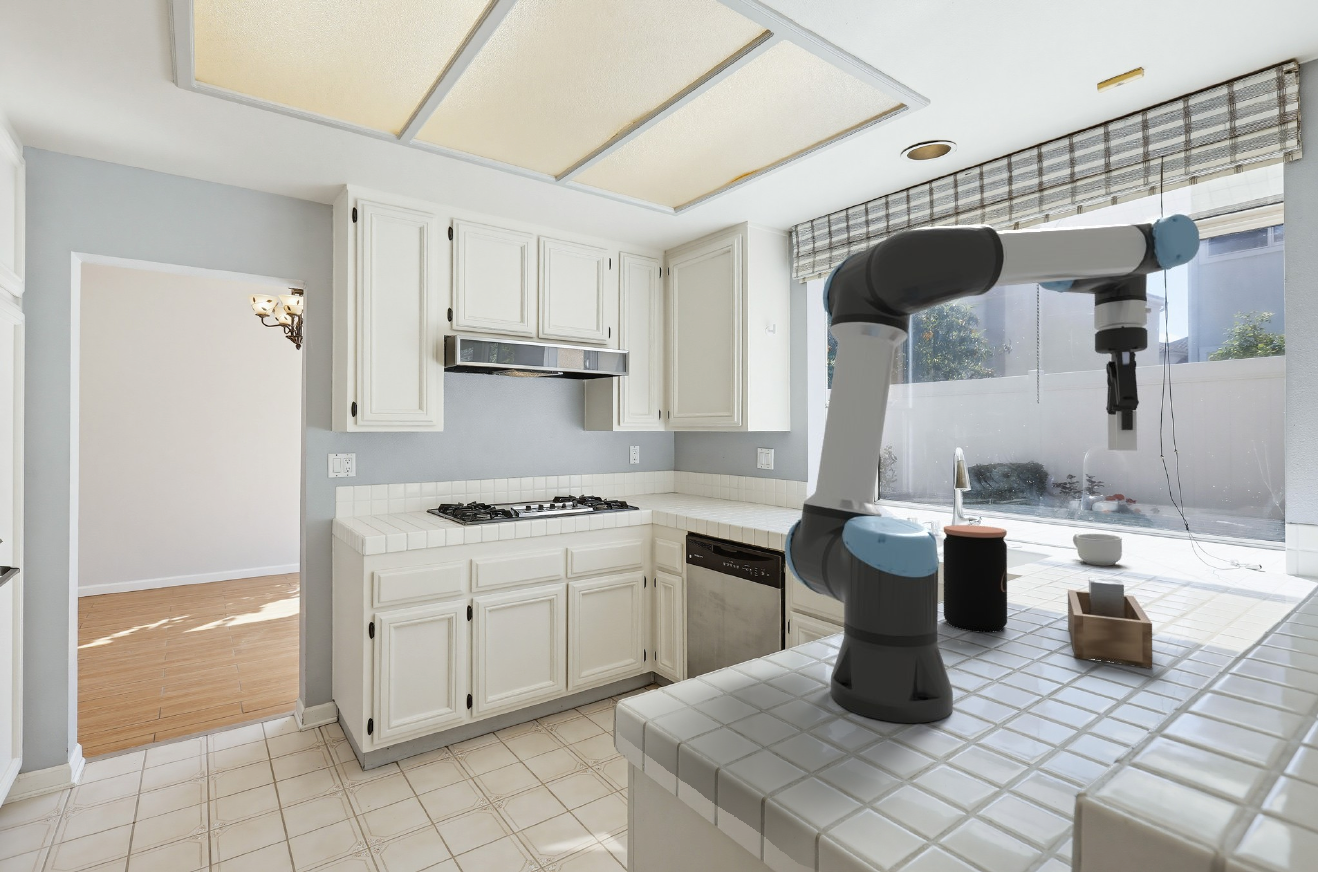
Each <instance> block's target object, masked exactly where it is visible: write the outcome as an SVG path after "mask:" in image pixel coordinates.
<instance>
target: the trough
mask: <svg viewBox="0 0 1318 872" xmlns="http://www.w3.org/2000/svg"><path fill="white" fill-rule="evenodd" d="M1067 627H1068V628H1067V629H1068V632H1069V634H1068V635H1069V637H1070V643H1071V647H1072V652H1073V653H1074V654H1073V657H1074V659H1078V658H1082V659H1081V660H1085V659H1095V660H1101V661H1110V662H1114V663H1121V664H1125V665H1124V666H1128V665H1134V666H1133V667H1135V666H1140V667H1139V668H1142V667H1148V668H1147V669H1150V668H1152V669H1153V622H1152V621H1151V620H1150V618H1149V617H1148V615H1147V614H1146V612H1145V611H1144V609H1143V608H1142V606H1141V605H1140V603H1139V602H1138V601H1137V600H1136V597H1135V596H1134V595H1129V594H1127V595H1126V594H1124V619H1123V618H1114V617H1105V616H1095V615H1089V591H1085V590H1077V589H1076V590H1074V589H1067ZM1114 663H1113V664H1114ZM1121 664H1120V665H1121Z"/></svg>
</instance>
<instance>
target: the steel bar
mask: <svg viewBox="0 0 1318 872" xmlns="http://www.w3.org/2000/svg"><path fill="white" fill-rule="evenodd" d="M1088 592H1089V615H1095V616H1105V617H1114V618H1123V619H1124V595H1125V585H1124V583H1123V581H1122V580H1121V579H1113V578H1103V577H1102V578H1101V577H1091V576H1090V577H1088Z"/></svg>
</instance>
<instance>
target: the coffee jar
mask: <svg viewBox="0 0 1318 872" xmlns="http://www.w3.org/2000/svg"><path fill="white" fill-rule="evenodd" d="M1007 532H1008V531H1007V530H1006V529H1004V528H999V527H994V526H985V525H984V526H983V525H971V524H969V525H966V524H963V525H962V524H960V525H959V524H957V525H956V524H955V525H954V524H953V525H945V526H943V533H944V534H945V538H944V539H943V540H942V541H943V548H942V549H943V550H942V551H943V552H942V553H943V617H944V619H945V621H946V623H947V624H948V623H949V624H950V625H949V624H948V625H949V626H951V625H952V626H951V627H953V626H954V628H955V627H958V628H961V629H960V630H962V629H966V630H965V631H967V630H970V631H969V632H973V631H979V632H978V633H996V632H995V631H998V632H1001V631H1003V629H1004V628H1005V626H1006V625H1007V624H1008V543H1006V541H1005V537H1006V536H1007ZM958 628H957V629H958ZM1000 630H1001V631H1000ZM993 631H994V632H993Z"/></svg>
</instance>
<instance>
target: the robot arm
mask: <svg viewBox="0 0 1318 872" xmlns="http://www.w3.org/2000/svg"><path fill="white" fill-rule="evenodd" d="M1198 228H1199V227H1198V226H1197V224H1196V223H1195V221H1194V220H1193V219H1192V218H1191V217H1189V216H1187V215H1185V214H1181V213H1177V214H1176V213H1175V214H1171V215H1167V216H1161V217H1160V216H1159V217H1158V218H1156V219H1155V220H1154V219H1153V220H1152V221H1148V222H1142V223H1141V222H1140V223H1130V224H1129V223H1128V224H1114V225H1112V224H1109V225H1093V226H1077V227H1076V226H1075V227H1073V226H1071V227H1058V228H1057V227H1056V228H1038V229H1022V230H1021V229H1018V230H1017V229H1015V230H1002V231H1001V230H1000V231H997V229H995V228H994V227H992V226H990V225H987V224H972V225H971V224H969V225H968V224H967V225H952V226H951V225H948V226H932V227H930V226H929V227H920V228H919V227H918V228H915V229H908V230H904V231H900V232H897V233H895V234H893V235H891V236H889V237H887V238H885V239H883V240H881V241H880V242H878V243H876V244H874V245H872V246H870V247H868V248H866V249H865V250H864V249H863V250H862V251H858V252H856V253H854V254H851V255H849V256H848V257H846V259H844V260H843V261H842V262H841V263H839V264H838V265H837V266H836V267H834V268H833V270H831V272H830V274H829V275H828V276H827V279H826V280H825V283H824V285H823V286H824V287H823V293H822V303H823V308H824V312H827V315H828V319H829V320H830V327H829V332H830V334H831V335H832V336H833V338H834V340H836V342H837V347H836V354H835V360H834V361H835V362H834V368H833V373H832V374H833V375H832V381H831V387H830V394H829V400H828V406H827V407H828V408H827V413H826V414H827V415H826V420H825V421H826V422H825V427H824V433H823V434H824V435H823V440H822V446H821V453H820V461H819V466H818V467H819V468H818V473H817V479H816V488H815V491H814V493H813V494H812V495H810V496H809V497H808V498H807V499H805V500H803V504H802V505H803V506H802V512H801V517H800V518H799V519H798V520H797V521H796V522H795V523H794V524H793V525H792V526H791V527H790V528H789V530H788V532H787V535H786V538H785V542H784V555H785V561H786V564H787V566H788V569H789V570H790V572H791V574H792V575H793V576H794V578H795V579H796V580H797V581H799V582H800V583H801V584H802V585H804V586H806V588H808V589H809V590H811V591H813V592H815V593H816V594H819V595H825V596H827V597H829V598H832V599H834V600H836V601H838V602H840V603H842V604H843V610H844V611H843V622H844V623H843V625H844V626H843V629H844V631H843V632H844V633H843V638H842V642H841V644H840V649H839V650H838V654H837V657H836V660H835V663H834V666H833V668H832V671H831V677H830V695H831V698H832V699H833V700H834V702H836V703H837V704H838V705H840V706H841V707H842V708H844V709H846V710H848V711H850V712H853V713H855V714H858V715H860V716H864V717H867V718H872V719H874V720H875V719H876V720H881V721H886V722H893V723H906V724H907V723H908V724H914V723H915V724H918V723H919V724H920V723H930V722H935V721H939V720H942V719H944V718H946V717H949V716H950V715H951V714H952V712H953V711H954V703H953V702H954V699H953V698H954V697H953V696H954V694H953V688H952V685H951V681H950V679H949V676H948V672H947V670H946V665H945V664H944V660H943V658H942V655H941V654H942V653H941V651H940V648H939V641H938V637H939V635H938V632H939V631H938V625H939V623H938V619H939V618H938V616H939V615H938V614H939V610H938V609H939V564H940V559H939V555H938V544H937V540H936V536H935V534H934V533H933V532H932V531H931V530H930V529H929V528H927V527H926V526H925V525H921V524H919V523H917V522H914V521H910V520H906V519H897V518H893V517H889V516H882V512H881V511H880V510H879V509H878V508H877V506H876V504H875V502H874V498H875V490H876V489H875V488H876V484H877V483H876V482H877V481H876V480H877V475H878V469H879V463H880V462H879V461H880V455H881V453H880V452H881V448H882V447H881V446H882V440H883V433H884V428H885V427H884V425H885V421H886V420H885V419H886V413H887V406H888V400H889V393H890V385H891V384H890V383H891V377H892V373H893V372H892V370H893V364H894V357H895V351H896V348H897V347H898V346H900V344H903V343H904V342H905V341H906V340H907V339H908V334H909V327H910V319H911V315H914V314H917V313H921V312H923V311H926V310H928V309H931V308H933V307H936V306H939V305H942V304H946V303H948V302H951V301H954V300H958V299H963V298H965V297H973V296H974V297H975V296H982V295H985V294H987V293H989V292H991V291H992V290H994V288H996V287H1004V286H1005V287H1006V286H1016V285H1017V286H1018V285H1028V284H1029V285H1030V284H1038V285H1039V286H1040V287H1041V288H1043V289H1045V290H1047V291H1052V292H1053V291H1054V292H1058V293H1060V294H1062V293H1074V294H1089V295H1094V316H1093V317H1094V318H1093V319H1094V320H1093V321H1094V322H1093V323H1094V324H1093V326H1094V330H1097V332H1095V333H1094V351H1095V353H1097V354H1102V355H1103V354H1104V355H1106V354H1110V355H1111V357H1110V358H1111V359H1110V360H1108V362H1107V363H1105V366H1106V367H1105V370H1106V374H1107V375H1106V376H1107V377H1106V378H1107V379H1106V383H1107V395H1106V396H1107V400H1106V408H1105V409H1106V412H1107V451H1137V450H1138V444H1137V443H1138V437H1137V436H1138V435H1137V430H1138V429H1137V426H1138V421H1137V417H1138V415H1137V409H1138V406H1139V403H1140V401H1139V398H1138V397H1139V395H1138V383H1137V373H1136V372H1137V371H1136V370H1137V360H1136V357H1137V355H1136V353H1137V352H1142V351H1145V350H1147V348H1148V329H1147V328H1145V326H1146V325H1147V323H1148V314H1151V313H1152V308H1151V307H1146V306H1147V301H1148V296H1147V282H1148V281H1147V279H1148V274H1152V273H1157V272H1162V271H1166V270H1167V271H1168V270H1169V271H1170V270H1171V269H1172V268H1175V267H1179V266H1183V265H1185V264H1188V263H1189V262H1190V261H1192V260H1193V259H1194V258H1195V257H1196V255H1197V254H1198V251H1199V249H1200V246H1201V239H1200V231H1199V229H1198Z"/></svg>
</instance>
